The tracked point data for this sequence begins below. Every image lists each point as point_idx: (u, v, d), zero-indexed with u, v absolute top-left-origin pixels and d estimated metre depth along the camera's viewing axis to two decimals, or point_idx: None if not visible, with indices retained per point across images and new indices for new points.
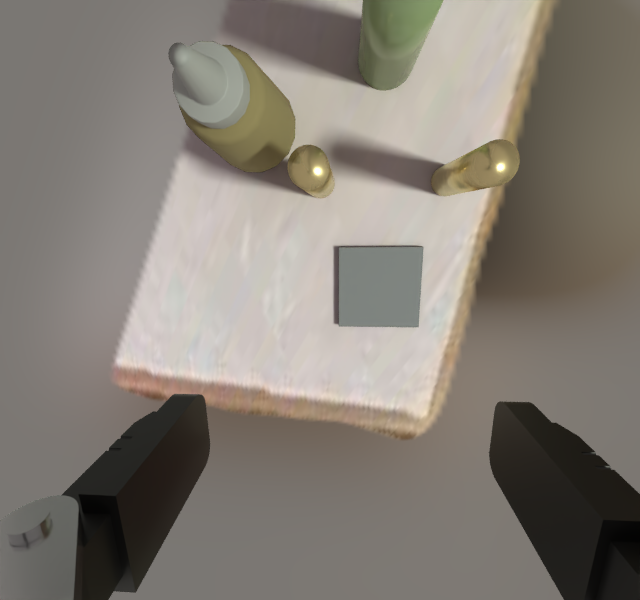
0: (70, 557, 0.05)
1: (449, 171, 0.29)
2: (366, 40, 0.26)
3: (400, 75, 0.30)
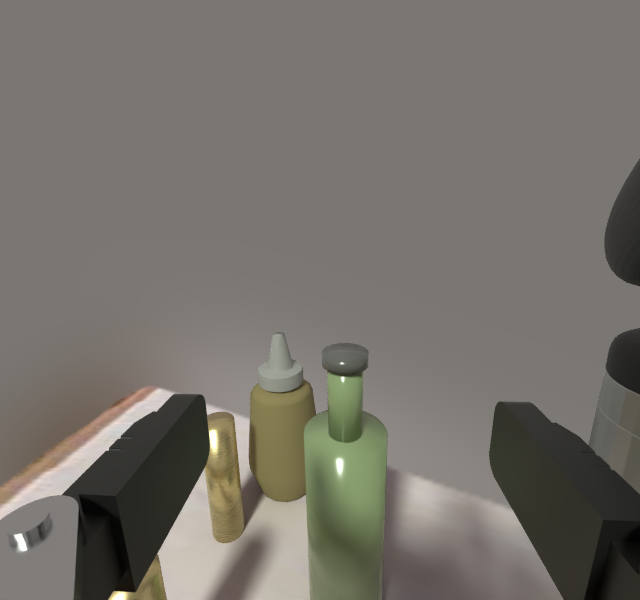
0: (70, 557, 0.05)
1: None
2: None
3: (311, 596, 0.24)
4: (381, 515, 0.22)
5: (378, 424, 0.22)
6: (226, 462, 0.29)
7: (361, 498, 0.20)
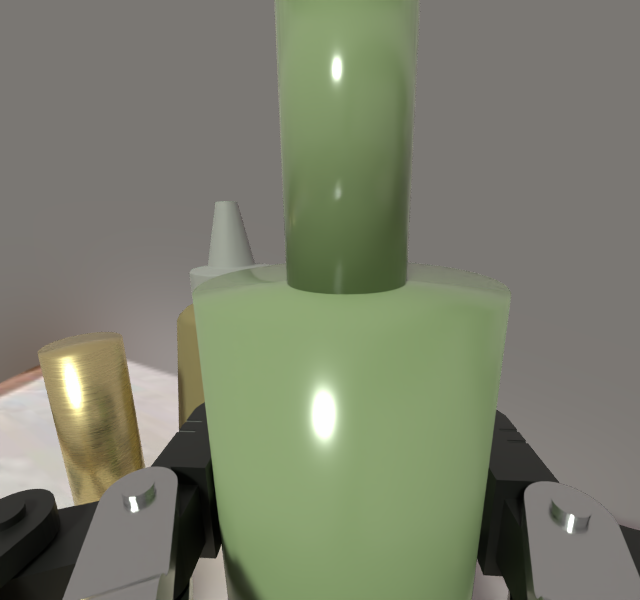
0: (168, 528, 0.05)
1: None
2: None
3: None
4: (473, 576, 0.06)
5: (455, 272, 0.07)
6: (98, 427, 0.14)
7: (414, 520, 0.04)
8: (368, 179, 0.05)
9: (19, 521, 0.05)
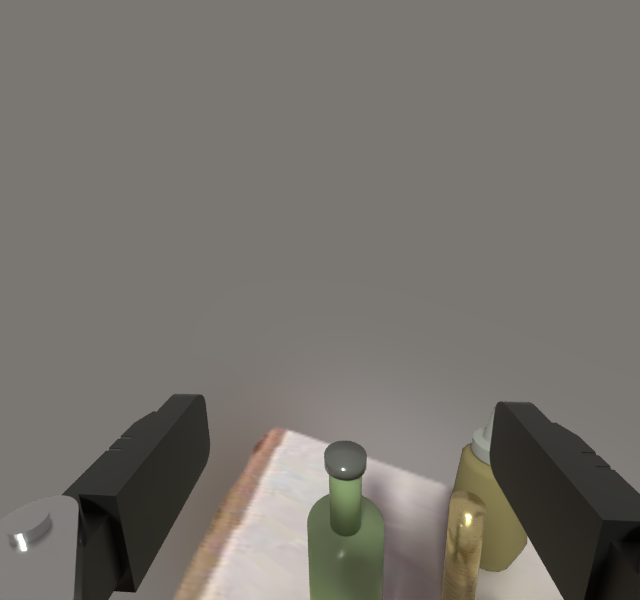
0: (70, 557, 0.05)
1: None
2: None
3: None
4: None
5: (376, 513, 0.24)
6: (480, 545, 0.30)
7: (359, 590, 0.22)
8: (350, 515, 0.22)
9: None
